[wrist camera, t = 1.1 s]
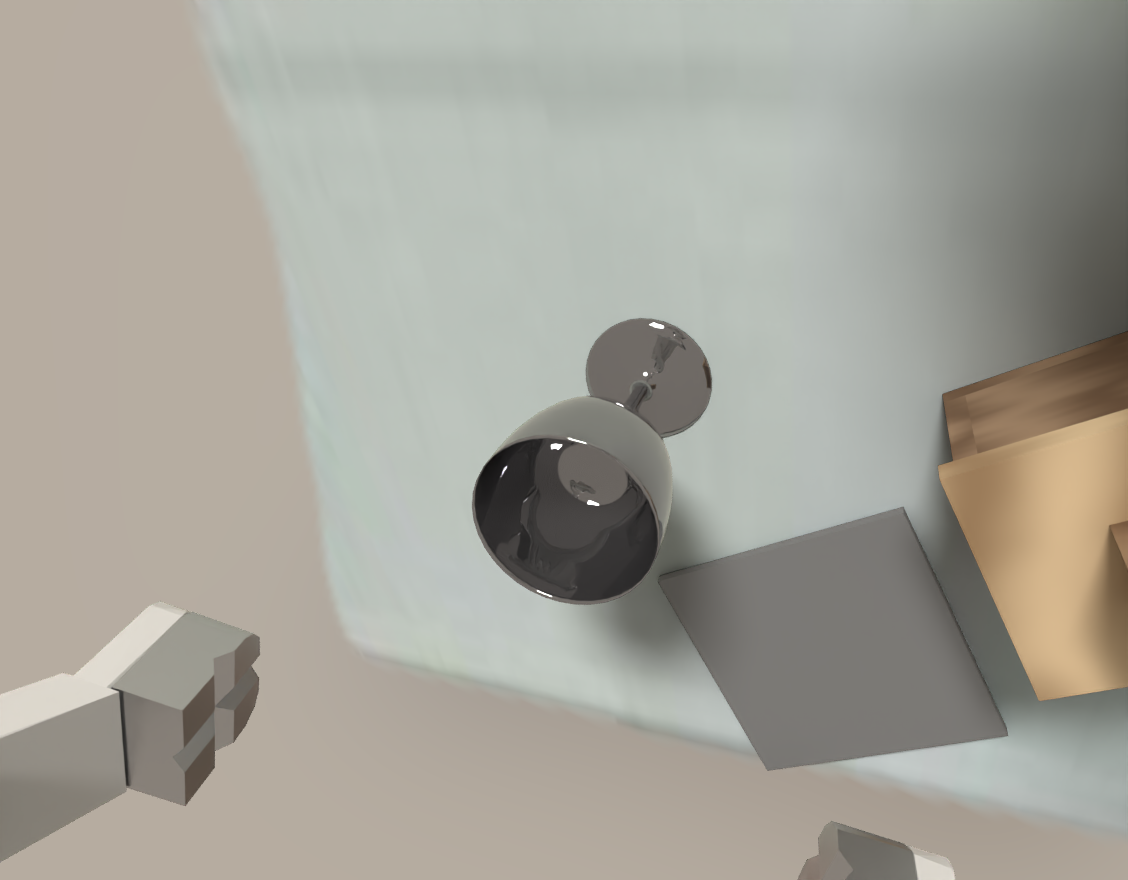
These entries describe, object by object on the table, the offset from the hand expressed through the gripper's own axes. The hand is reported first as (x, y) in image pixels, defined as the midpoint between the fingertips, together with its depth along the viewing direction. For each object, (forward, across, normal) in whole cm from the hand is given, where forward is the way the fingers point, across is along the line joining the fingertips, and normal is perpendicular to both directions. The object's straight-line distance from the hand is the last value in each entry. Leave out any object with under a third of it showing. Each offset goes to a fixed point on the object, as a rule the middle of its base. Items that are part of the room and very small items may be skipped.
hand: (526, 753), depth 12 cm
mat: (+34, -14, +23) cm, 43 cm away
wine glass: (+35, +1, +9) cm, 36 cm away
